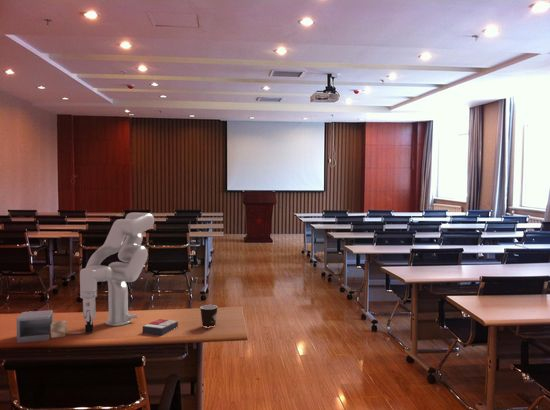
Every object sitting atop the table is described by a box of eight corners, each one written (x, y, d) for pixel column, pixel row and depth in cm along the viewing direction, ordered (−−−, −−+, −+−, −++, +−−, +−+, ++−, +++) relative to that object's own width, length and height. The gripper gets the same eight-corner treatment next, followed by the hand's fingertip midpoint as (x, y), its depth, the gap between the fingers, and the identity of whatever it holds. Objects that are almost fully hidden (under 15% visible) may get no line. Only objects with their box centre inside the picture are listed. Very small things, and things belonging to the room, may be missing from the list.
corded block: (93, 330, 229) (92, 316, 229) (91, 334, 223) (91, 320, 223) (52, 333, 224) (52, 319, 223) (50, 337, 218) (50, 322, 218)
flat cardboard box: (178, 320, 236) (161, 327, 222) (178, 328, 236) (161, 336, 222) (159, 318, 239) (142, 324, 225) (159, 326, 239) (142, 333, 225)
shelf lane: (52, 332, 226) (52, 310, 226) (48, 340, 215) (48, 316, 214) (22, 335, 222) (22, 312, 222) (16, 342, 211) (16, 318, 211)
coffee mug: (206, 330, 230) (206, 310, 230) (197, 326, 237) (197, 306, 237) (225, 325, 238) (225, 306, 238) (216, 321, 245) (216, 303, 244)
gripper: (95, 297, 218) (96, 336, 219) (98, 289, 234) (98, 325, 235) (78, 298, 216) (79, 337, 217) (82, 290, 231) (82, 327, 232)
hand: (89, 331), depth 226 cm, fingers closed on corded block, 3 cm apart
